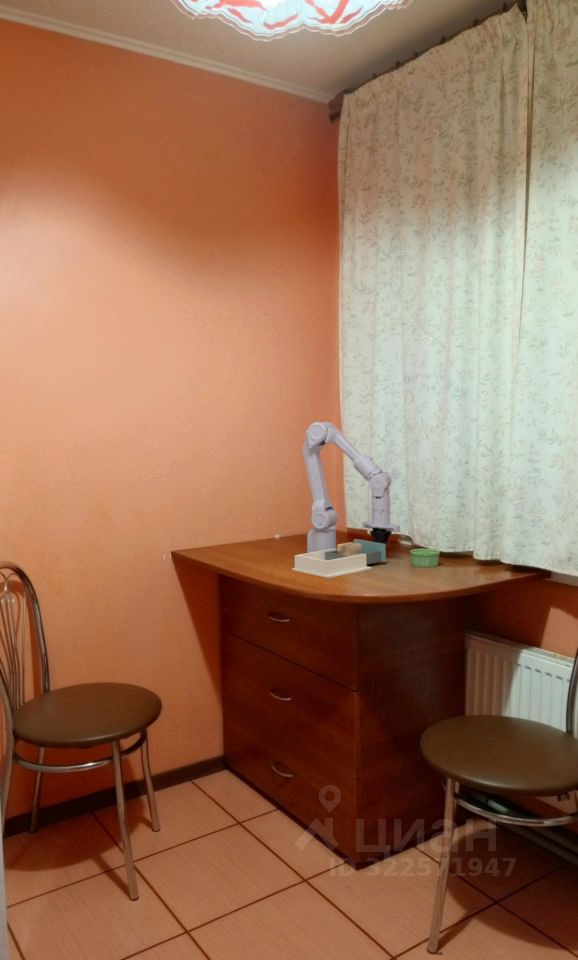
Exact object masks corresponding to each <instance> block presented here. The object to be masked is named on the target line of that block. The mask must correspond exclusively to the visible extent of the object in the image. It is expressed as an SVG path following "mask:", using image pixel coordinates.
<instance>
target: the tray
mask: <svg viewBox="0 0 578 960" xmlns="http://www.w3.org/2000/svg"><path fill="white" fill-rule="evenodd" d="M353 543H359V544H361V547H362V554H366V565H370V564H375V563H380V562H382V563H386V562H387V561H386V557H387V556H386V555H387V553H386V552H387V551H386V549H387V547H386V544H382V543H376V542H374V541H368V540H364V539H355V538H354V539H353ZM358 555H359V554H358ZM353 556H354V555H353ZM343 557H349V556H346V555H341V554H338V549H337V550H335V551H330V552H325V560H326V561H327V560H333V559H338V558H343Z"/></svg>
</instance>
